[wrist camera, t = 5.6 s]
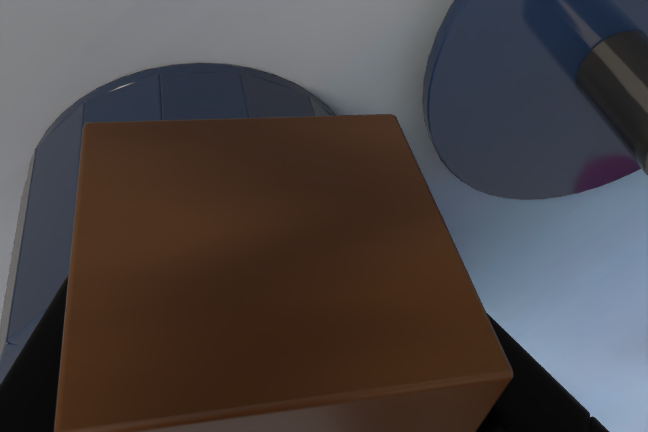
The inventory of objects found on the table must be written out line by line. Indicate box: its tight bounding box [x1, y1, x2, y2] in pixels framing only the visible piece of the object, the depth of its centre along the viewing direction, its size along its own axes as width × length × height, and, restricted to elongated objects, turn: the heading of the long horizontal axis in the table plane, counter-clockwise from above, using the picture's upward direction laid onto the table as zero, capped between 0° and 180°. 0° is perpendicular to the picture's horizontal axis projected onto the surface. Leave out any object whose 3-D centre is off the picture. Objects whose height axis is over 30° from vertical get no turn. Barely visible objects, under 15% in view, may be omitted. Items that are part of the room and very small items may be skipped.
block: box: [54, 114, 513, 432], centre depth 8 cm, size 4×4×4 cm
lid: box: [422, 0, 648, 200], centre depth 19 cm, size 13×13×5 cm
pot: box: [0, 63, 336, 384], centre depth 20 cm, size 12×12×8 cm
